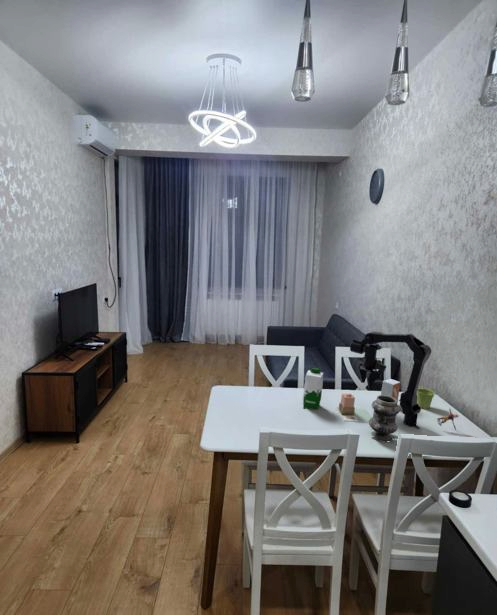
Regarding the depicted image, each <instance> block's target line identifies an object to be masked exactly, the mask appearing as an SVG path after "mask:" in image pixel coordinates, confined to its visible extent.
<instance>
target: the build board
mask: <svg viewBox="0 0 497 615" xmlns="http://www.w3.org/2000/svg"><path fill="white" fill-rule="evenodd" d="M334 408H335V410H336V411H337V413H338V415H339V416H340V418H341V419H342V420H343V422H345V423H346V422H347V423H349V422H351V423H353V422H354V423H369V420H370V419H371V418H372V417H373V415H371V413H370V412H369V411H368V410H367V409H366V408H356V407H355V412H354V416H351V415H342V414H341V413H340V412H339V407H334Z"/></svg>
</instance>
